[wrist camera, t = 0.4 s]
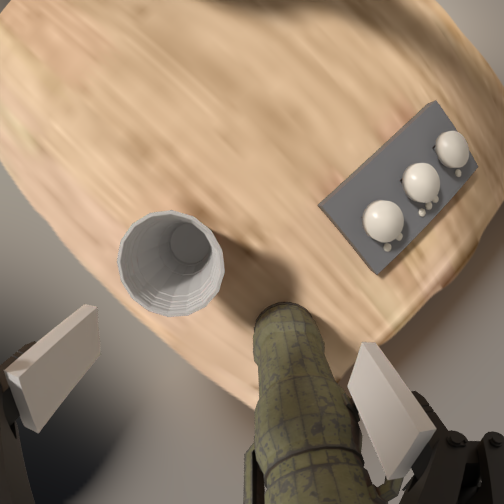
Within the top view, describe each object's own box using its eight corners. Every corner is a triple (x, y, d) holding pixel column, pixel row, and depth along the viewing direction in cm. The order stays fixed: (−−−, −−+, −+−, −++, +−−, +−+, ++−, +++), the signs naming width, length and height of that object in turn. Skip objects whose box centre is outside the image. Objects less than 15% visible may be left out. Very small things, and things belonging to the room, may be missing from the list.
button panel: (317, 205, 39) (322, 206, 36) (427, 103, 35) (437, 99, 33) (370, 269, 41) (377, 275, 38) (469, 166, 37) (479, 166, 35)
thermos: (232, 333, 43) (203, 584, 8) (296, 282, 41) (401, 532, 7) (271, 371, 44) (293, 597, 10) (334, 324, 42) (445, 541, 8)
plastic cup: (209, 296, 41) (194, 337, 30) (141, 259, 40) (103, 286, 29) (247, 227, 39) (245, 245, 28) (174, 188, 38) (143, 190, 27)
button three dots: (388, 179, 36) (401, 179, 32) (411, 157, 36) (425, 155, 32) (408, 208, 37) (423, 210, 33) (430, 185, 36) (445, 186, 32)
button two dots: (349, 216, 37) (359, 219, 34) (375, 191, 37) (388, 192, 33) (371, 244, 38) (383, 251, 34) (397, 220, 37) (410, 223, 34)
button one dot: (421, 146, 35) (436, 143, 31) (440, 127, 34) (455, 123, 31) (440, 175, 36) (456, 174, 32) (458, 155, 35) (474, 154, 31)
